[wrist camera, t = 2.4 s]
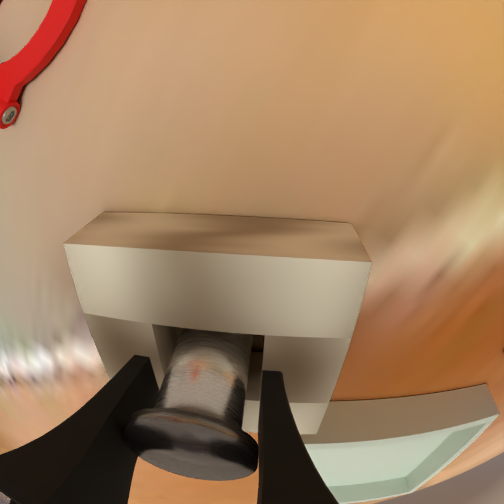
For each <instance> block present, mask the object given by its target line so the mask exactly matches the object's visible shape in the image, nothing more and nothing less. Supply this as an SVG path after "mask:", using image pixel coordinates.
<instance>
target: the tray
mask: <svg viewBox="0 0 504 504" xmlns="http://www.w3.org/2000/svg"><path fill="white" fill-rule="evenodd" d="M499 414H500V412H499V410H498V408H497V406H496V403H495V401H494V399H493V397H492V395H491V393H490V391H489V388H488V386H487V384H482V385H478V386H473V387H468V388H462V389H457V390H451V391H445V392H439V393H432V394H425V395H417V396H409V397H399V398H388V399H376V400H359V401H329V404H328V407H327V409H326V412H325V414H324V417H323V419H322V422H321V424H320V426H319V429H318V431H317V434H300V436H301V438H302V440H303V443H304V445H305V447H306V449H307V451H308V453H309V455H310V457H311V459H312V461H313V463H314V465H315V467H316V469H317V471H318V472H319V474H320V476H321V477H322V479H323V481H324V482H325V484H326V486H327V487H328V488H329V490H330V491H331V493H332V494H333V496H334V497H335V499H336V500H337V502H338V503H339V504H348V503H357V502H365V501H371V500H378V499H384V498H389V497H394V496H399V495H404V494H408V493H412V492H414V491H415V490H416V489H418V488H419V487H421V486H422V485H423V484H425V483H426V482H427V481H429V480H430V479H431V478H432V477H434V476H435V475H436V474H437V473H439V472H440V471H441V470H442V469H444V468H445V467H446V466H447V465H448V464H449V463H451V462H452V461H453V460H454V459H455V458H456V457H457V456H459V455H460V454H461V453H462V452H463V451H464V450H465V449H466V448H467V447H468V446H469V445H470V444H471V443H472V442H474V441H475V440H476V439H477V438H478V437H479V436H480V435H481V434H482V433H483V431H484V430H485V429H486V428H487V427H488V426H489V425H490V424H491V423H492V422H493V421H494V420H495V419H496V418H497V416H498V415H499Z"/></svg>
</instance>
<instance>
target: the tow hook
mask: <svg viewBox="0 0 504 504" xmlns="http://www.w3.org/2000/svg"><path fill="white" fill-rule="evenodd" d="M0 1H1V0H0ZM85 2H86V0H53V1H52V3H51V6H50V8H49V10H48V13H47V15H46V17H45V18H44V20H43V22H42V24H41V25H40V27H39V29H38V30H37V32H36V33H35V34H34V36H33V37H32V38H31V40H30V41H29V43H28V44H27V45H26V46H25V47H24V48H23V49H22V50H21V51H20V52H19V53H18V54H17V55H15V56H14V57H12V58H11V59H10V60H8V61H6V62H4V63H1V64H0V128H1V129H5V128H7V127H9V126H10V125H11V124H12V123H13V122H14V121H15V120H16V118H17V116H18V114H19V111H20V105H19V103H18V102H17V99H18V97H19V95H20V92H21V90H22V88H23V86H24V85H25V84H26V83H28V82H29V81H31V80H32V79H33V78H34V77H35V76H36V75H37V74H38V73H39V72H40V71H41V70H42V69H43V68H44V67H46V66H47V65H48V63H49V62H50V61H51V59H52V58H53V57H54V56H55V54H56V53H57V52H58V50H59V49H60V48H61V47H62V45H63V44H64V42H65V41H66V39H67V37H68V36H69V34H70V32H71V31H72V29H73V27H74V26H75V24H76V22H77V21H78V18H79V16H80V13H81V11H82V9H83V7H84V4H85Z"/></svg>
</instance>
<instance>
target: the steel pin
mask: <svg viewBox="0 0 504 504" xmlns="http://www.w3.org/2000/svg"><path fill="white" fill-rule="evenodd" d="M252 337H253V334H242V333H229V332H218V331H208V330H198V329H189V328H182V331H181V333H180V336H179V339H178V341H177V344H176V347H175V349H174V352H173V355H172V357H171V360H170V363H169V366H168V368H167V371H166V374H165V376H164V379H163V382H162V385H161V388H160V390H159V393H158V396H157V399H156V402H155V405H154V407H153V408H147V409H142V410H139V411H136V412H135V413H133V414H132V415H131V416H130V418H129V421H128V423H127V426H126V428H125V431H124V434H123V439H124V442H125V443H126V445H127V446H128V448H129V449H130V450H131V451H132V452H134V453H135V454H136V455H137V456H139V457H140V458H142V459H143V460H145V461H147V462H148V463H150V464H152V465H154V466H156V467H159V468H161V469H163V470H166V471H169V472H172V473H175V474H178V475H182V476H186V477H190V478H195V479H202V480H214V481H226V480H235V479H240V478H244V477H247V476H249V475H251V474H253V473H254V472H255V471H256V469H257V466H258V454H259V447H258V444H257V442H256V441H255V440H254V439H253V438H252V437H251V436H250V435H249V434H248V433H246V432H245V431H243V430H242V423H243V415H244V407H245V398H246V390H247V381H248V372H249V364H250V355H251V346H252Z"/></svg>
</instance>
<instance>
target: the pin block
mask: <svg viewBox="0 0 504 504" xmlns="http://www.w3.org/2000/svg"><path fill="white" fill-rule="evenodd" d="M63 244H64V248H65V252H66V256H67V260H68V263H69V267H70V271H71V274H72V278H73V281H74V284H75V288H76V291H77V294H78V297H79V300H80V304H81V307H82V309H83V312H84V315H85V318H86V321H87V324H88V326H89V329H90V332H91V335H92V337H93V340H94V342H95V345H96V347H97V350H98V352H99V355H100V357H101V359H102V362H103V364H104V366H105V369H106V371H107V373H108V376H109V378H110V380H111V379H112V378H113V377H114V376H115V375H116V373H117V372H118V371H119V370H120V369H121V368H122V367H123V366H124V365H125V364H126V363H127V362H128V361H129V360H130V359H131V358H132V357H133V356H134V355H140V356H146V357H150V361H151V364H152V368H153V371H154V374H155V377H156V381H157V384H158V387H159V390H160V388H161V385H162V382H163V379H164V376H165V374H166V371H167V368H168V366H169V363H170V360H171V357H172V355H173V352H174V349H175V347H176V344H177V341H178V339H179V336H180V333H181V331H182V329H181V328H189V329H198V330H208V331H218V332H229V333H242V334H255V335H264V349H263V352H251V355H250V364H249V372H248V381H247V390H246V398H245V407H244V415H243V423H242V430H243V431H245V432H255V433H258V420H259V407H260V395H261V383H262V371H263V370H268V371H280V372H282V373H283V380H284V385H285V390H286V394H287V398H288V402H289V405H290V408H291V412H292V414H293V417H294V420H295V423H296V426H297V428H298V431H299V433H300V434H317V431H318V429H319V426H320V424H321V422H322V419H323V417H324V414H325V412H326V409H327V407H328V404H329V401H330V399H331V396H332V394H333V391H334V388H335V385H336V383H337V380H338V377H339V374H340V371H341V369H342V366H343V363H344V360H345V357H346V354H347V351H348V348H349V344H350V341H351V338H352V335H353V332H354V328H355V325H356V322H357V318H358V315H359V311H360V308H361V304H362V300H363V297H364V293H365V289H366V285H367V281H368V277H369V273H370V269H371V265H372V261H371V259H370V257H369V255H368V254H367V252H366V250H365V248H364V246H363V244H362V242H361V241H360V239H359V237H358V235H357V233H356V231H355V230H354V228H353V226H352V224H351V223H340V222H327V221H313V220H298V219H283V218H266V217H247V216H226V215H203V214H174V213H132V212H103V213H101V214H100V215H99V216H97V217H96V218H95V219H93V220H92V221H91V222H90V223H88V224H87V225H86V226H84V227H83V228H82V229H81V230H79V231H78V232H77V233H76V234H74V235H73V236H72V237H71V238H69V239H68V240H67V241H66V242H65V243H63Z"/></svg>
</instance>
